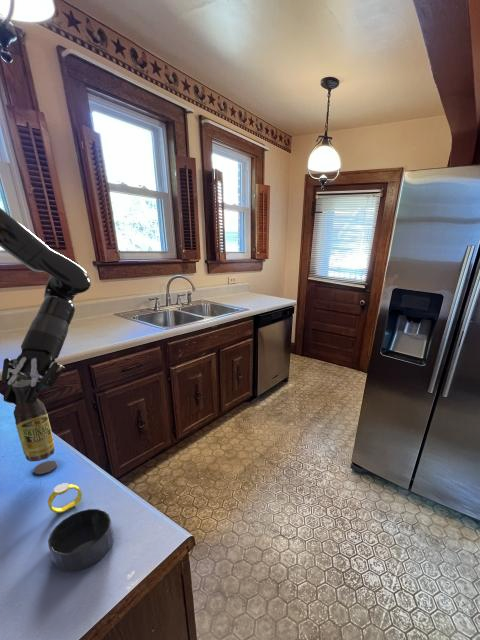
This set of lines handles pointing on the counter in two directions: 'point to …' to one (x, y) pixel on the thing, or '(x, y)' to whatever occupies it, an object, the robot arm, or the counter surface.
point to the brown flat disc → (45, 467)
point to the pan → (81, 540)
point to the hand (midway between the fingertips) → (18, 402)
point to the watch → (60, 490)
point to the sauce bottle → (32, 425)
